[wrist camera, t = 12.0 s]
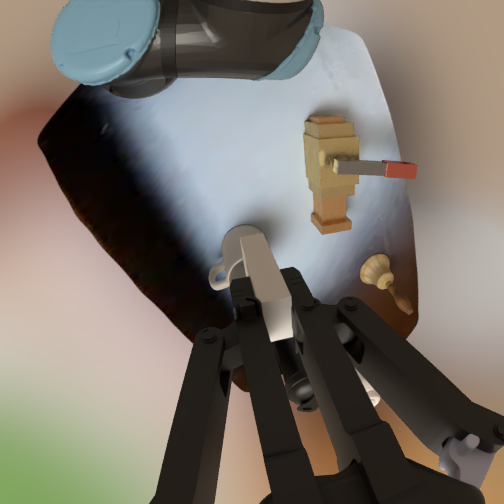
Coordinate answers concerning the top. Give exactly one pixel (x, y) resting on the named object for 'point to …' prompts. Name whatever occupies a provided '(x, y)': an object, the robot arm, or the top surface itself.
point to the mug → (231, 257)
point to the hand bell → (383, 279)
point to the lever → (374, 168)
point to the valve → (329, 170)
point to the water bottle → (295, 375)
